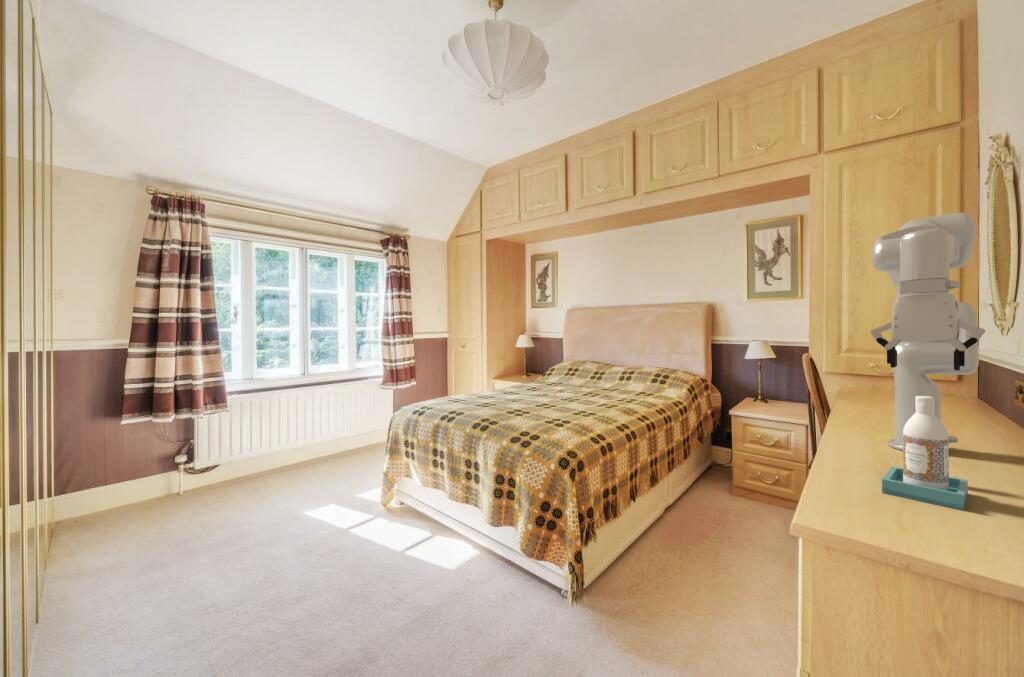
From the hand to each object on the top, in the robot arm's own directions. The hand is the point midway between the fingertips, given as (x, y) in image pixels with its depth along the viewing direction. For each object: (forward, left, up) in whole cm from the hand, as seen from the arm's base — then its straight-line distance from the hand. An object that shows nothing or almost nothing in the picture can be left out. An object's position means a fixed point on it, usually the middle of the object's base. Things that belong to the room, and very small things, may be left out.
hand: (924, 368), depth 88 cm
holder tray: (0, 0, -27) cm, 27 cm away
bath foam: (0, 0, -26) cm, 26 cm away
